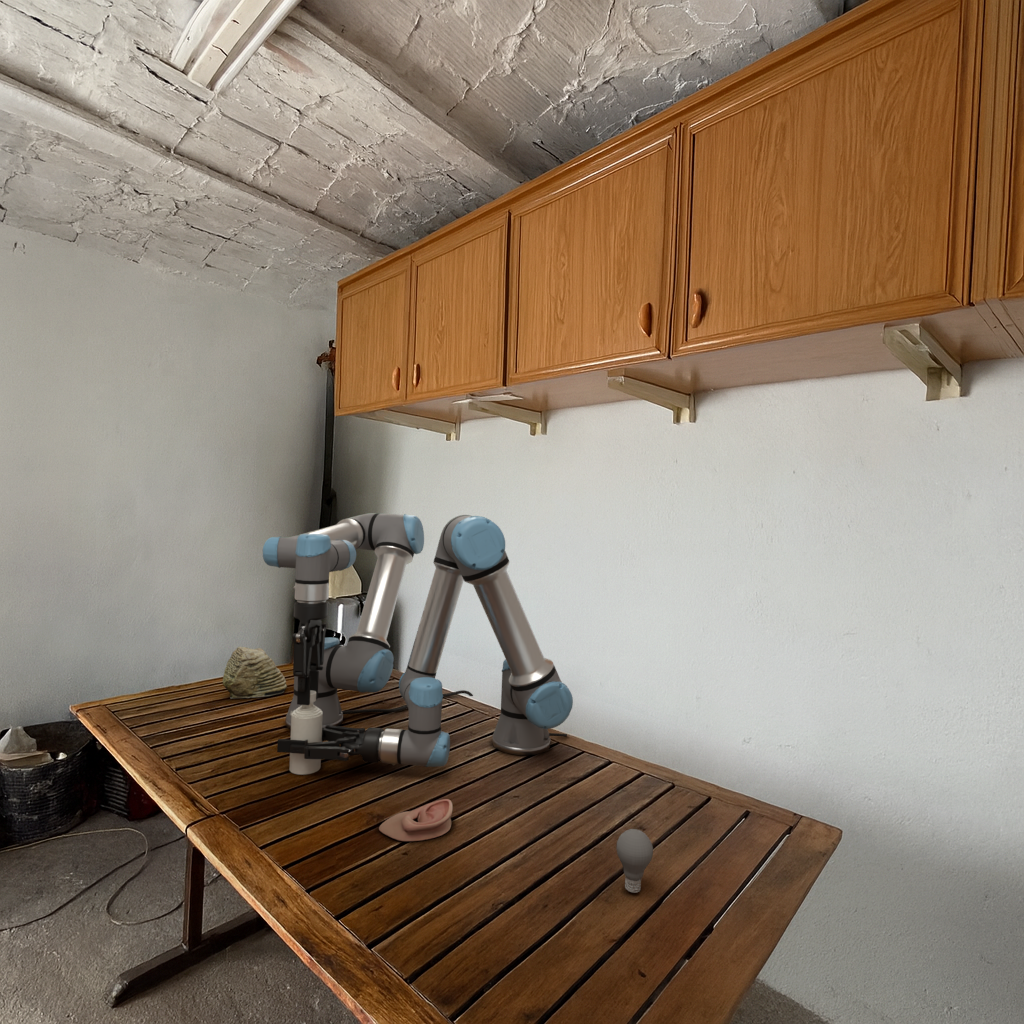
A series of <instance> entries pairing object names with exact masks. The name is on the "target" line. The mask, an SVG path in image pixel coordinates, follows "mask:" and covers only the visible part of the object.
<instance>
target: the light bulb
mask: <svg viewBox="0 0 1024 1024" xmlns="http://www.w3.org/2000/svg"><path fill="white" fill-rule="evenodd" d="M615 849H616V854H617V857H618V859H619V861H620V863H621V865H622V867H623V873H624V874H623V875H624V876H625V878H624V888H625V890H627V891H628V892H630V893H634V894H635V893H639V892H640V891H641V889H642V887H641V886H642V879H643V877H644V875H645V871H646V868H647V867H648V866H649V864H650V863H651V861H652V859H653V855H654V847H653V843H652V841H651V838H649V836H648V835H647V834H646V833H645V832H643V831H642V830H641V829H636V828H629V829H627V830H625V831H623V832H622V833H621V834H620V835H619V837H618V839H617V841H616V847H615Z"/></svg>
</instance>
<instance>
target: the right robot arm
mask: <svg viewBox="0 0 1024 1024" xmlns="http://www.w3.org/2000/svg"><path fill="white" fill-rule="evenodd" d="M509 564H510V559H509V557H508V554H507V552H506V538H505V534H504V532H503V531H502V529H501V528H500V526H499V525H498V524H497V523H495V522H494V521H492V520H491V519H489V518H487V517H485V516H479V515H470V514H461V515H457V516H455V517H453V518H451V519H450V520H449V521H447V523H446V524H445V525H444V526H443V528H442V530H441V533H440V537H439V540H438V544H437V548H436V552H435V555H434V559H433V565H434V566H435V570H434V574H433V576H432V580H431V584H430V585H429V586H430V587H429V590H428V594H427V597H426V601H425V604H424V607H423V611H422V614H421V617H420V620H419V624H418V628H417V631H416V634H415V638H414V641H413V644H412V648H411V652H410V655H409V658H408V662H407V666H406V669H405V671H404V672H403V673H402V675H400V678H399V680H398V690H399V693H400V696H401V698H402V699H403V701H404V702H405V705H407V707H408V708H407V710H408V725H407V729H402V728H385V729H383V728H382V727H368V728H367V729H366V727H365V728H364V727H350V726H349V727H348V726H340V725H339V726H331V725H327V726H326V727H325V728H322V742H313V743H308V740H305V741H303V740H290V739H285V738H278V739H277V746H276V748H277V749H276V752H277V753H289V754H290V753H300V754H304V759H321V760H332V761H333V760H337V761H342V762H343V761H344V762H347V761H349V760H350V759H349V758H350V756H359V755H360V756H361V760H362V761H363V762H364V763H373V764H378V763H381V764H391V765H392V766H396V765H408V766H418V767H425V768H439V767H445V765H447V764H448V761H449V758H450V757H449V756H450V752H451V751H450V750H451V737H450V736H451V735H450V734H449V733H448V732H445V731H442V714H443V713H442V712H443V711H442V710H443V698H444V697H443V694H444V693H443V683H442V681H441V680H440V679H438V678H436V677H437V671H438V669H439V667H440V662H441V658H442V656H443V652H444V648H445V645H446V642H447V638H448V636H449V632H450V628H451V625H452V621H453V618H454V614H455V611H456V608H457V604H458V601H459V598H460V594H461V591H462V587H463V584H464V583H467V584H470V585H472V586H473V588H474V590H475V593H476V596H477V597H478V599H479V602H480V604H481V606H482V609H483V611H484V613H485V615H486V617H487V620H488V622H489V624H490V626H491V629H492V632H493V633H494V636H495V638H496V640H497V643H498V645H499V648H500V649H501V652H502V653H503V656H504V658H505V659H504V660H503V661H502V669H501V695H500V714H499V717H498V719H497V722H496V725H495V728H494V731H493V732H492V733H493V734H492V741H491V742H492V746H493V747H494V748H495V749H496V750H498V751H499V752H502V753H505V754H509V755H514V756H516V755H517V756H533V755H535V756H536V755H540V754H542V753H543V754H544V753H545V752H547V751H548V750H550V747H551V737H560V738H561V737H562V738H567V737H568V734H567V733H559V732H557V733H556V732H549V730H551V729H554V728H557V727H559V726H560V725H562V724H563V723H565V721H566V720H567V719H568V718H569V716H570V713H571V711H572V709H573V705H574V698H573V694H572V691H571V690H570V688H569V687H568V686H567V685H566V684H565V683H564V682H563V681H562V680H561V677H560V675H559V673H558V671H557V667H556V666H555V663H554V662H553V661H552V659H550V658H546V657H544V654H543V652H542V650H541V647H540V645H539V643H538V640H537V637H536V635H535V633H534V631H533V629H532V626H531V624H530V622H529V619H528V617H527V615H526V612H525V610H524V607H523V606H522V603H521V601H520V598H519V596H518V594H517V592H516V589H515V587H514V584H513V582H512V579H511V577H510V575H509V572H508V567H509Z"/></svg>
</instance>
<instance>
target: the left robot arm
mask: <svg viewBox="0 0 1024 1024" xmlns="http://www.w3.org/2000/svg"><path fill="white" fill-rule="evenodd" d="M424 545H425V531H424V526H423V523H422V520H421V518H419V517H418V516H417V515H412V514H406V513H404V514H399V513H398V514H395V513H378V512H370V513H364V514H359V515H355V516H351V517H346V518H343V519H340V520H339V521H338V522H337V523H336V524H334V525H330V526H327V527H322V528H319V529H315V530H311V531H308V532H304V533H300V534H298V535H293V536H288V537H285V536H284V537H283V536H272V537H269V538H267V539H266V541H265V542H264V544H263V547H262V559H263V561H264V563H265V564H266V565H267V566H269V567H274V568H275V567H276V568H279V569H280V568H287V569H295V578H294V586H293V590H294V600H296V601H295V602H294V603H293V617H294V618H295V619H296V620H299V625H298V632H297V633H296V632H295V633H292V636H291V637H292V643H293V653H292V654H293V655H292V656H293V657H292V660H293V661H292V663H293V664H292V668H293V669H292V675H293V695H292V696H293V697H292V699H291V702H290V704H289V708H288V711H287V713H286V715H285V726H286V728H287V729H289V730H291V714H292V713H293V711H294V710H296V709H297V708H298V707H300V706H301V705H309V704H310V690H313V691H316V701H315V702H313V705H315V706H316V707H318V708H319V709H321V710H322V712H323V717H322V728H325V727H326V726H327V725H331V726H340V725H342V723H343V722H344V715H355V714H367V713H368V714H369V713H397V712H401V711H404V710H406V709H407V710H408V707H407V705H406V704H405V705H403V706H400V707H396V708H365V709H351V710H343V709H342V706H341V702H340V699H339V695H338V690H344V691H345V690H346V691H353V692H359V693H378V692H380V691H381V690H382V689H384V688H385V686H386V685H387V684H388V682H389V681H390V678H391V675H392V673H393V670H394V661H395V659H394V658H395V657H394V654H393V652H392V651H391V649H390V648H391V645H390V644H389V642H388V640H387V639H388V635H389V632H390V627H391V623H392V620H393V616H394V612H395V608H396V604H397V600H398V596H399V593H400V589H401V585H402V583H403V577H404V574H405V570H406V567H407V565H409V564H411V563H412V562H413V559H414V556H415V555H418V554H421V553H422V552H423V549H424ZM356 550H362V551H363V550H365V551H374V554H375V556H376V557H377V560H376V563H375V566H374V569H373V573H372V577H371V580H370V583H369V586H368V591H367V594H366V597H365V600H364V605H363V608H362V612H361V615H360V618H359V622H358V625H357V629H356V632H355V633H353V634H352V635H350V636H349V637H348V640H347V643H346V645H342V644H340V643H341V641H340V639H339V638H338V637H326V632H327V623H323V621H322V620H324V619H326V618H328V615H329V603H328V601H327V600H329V598H330V573H333V572H341V571H344V570H347V569H348V568H351V567H352V566H353V565H354V563H355V562H356V559H357V551H356ZM460 694H465V695H467V696H469V697H473V696H474V694H473V693H472V692H471V691H469V690H463V689H462V690H461V689H460V690H457V691H456V690H455V691H453V692H449V693H443V698H445V697H446V698H447V697H453V696H456V695H460Z"/></svg>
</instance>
